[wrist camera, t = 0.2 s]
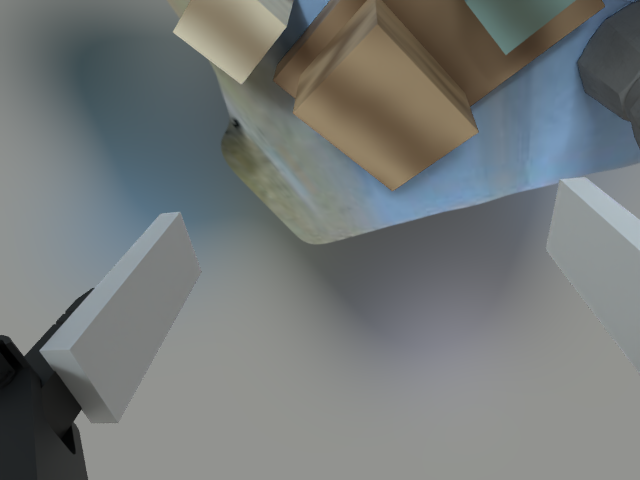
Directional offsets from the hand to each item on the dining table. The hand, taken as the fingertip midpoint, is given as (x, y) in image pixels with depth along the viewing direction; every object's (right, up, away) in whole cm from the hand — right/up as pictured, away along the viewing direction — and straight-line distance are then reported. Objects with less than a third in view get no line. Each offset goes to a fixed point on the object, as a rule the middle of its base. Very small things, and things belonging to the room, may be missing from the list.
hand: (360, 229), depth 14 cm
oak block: (-8, +20, +19) cm, 29 cm away
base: (+7, +18, +20) cm, 28 cm away
